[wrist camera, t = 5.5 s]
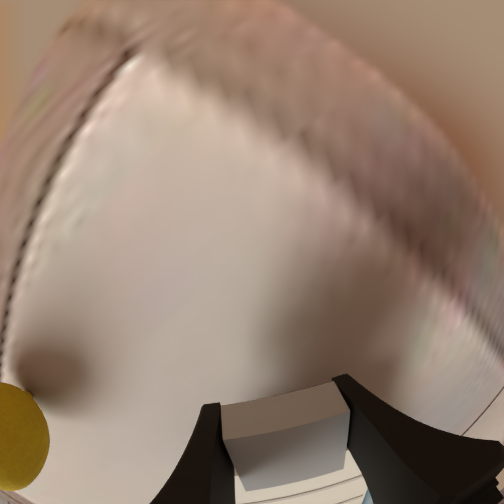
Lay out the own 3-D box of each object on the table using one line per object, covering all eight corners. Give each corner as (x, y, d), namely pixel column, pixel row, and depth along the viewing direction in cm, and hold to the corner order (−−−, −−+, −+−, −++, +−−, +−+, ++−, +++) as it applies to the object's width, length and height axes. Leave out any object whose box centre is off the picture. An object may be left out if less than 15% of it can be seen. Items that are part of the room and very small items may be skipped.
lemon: (39, 359, 12) (-28, 461, 4) (79, 428, 13) (45, 526, 6) (-15, 355, 11) (-77, 429, 4) (22, 419, 13) (-17, 496, 5)
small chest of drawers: (356, 504, 13) (362, 519, 12) (238, 530, 13) (240, 547, 11) (387, 363, 9) (409, 388, 8) (160, 412, 9) (155, 445, 7)
